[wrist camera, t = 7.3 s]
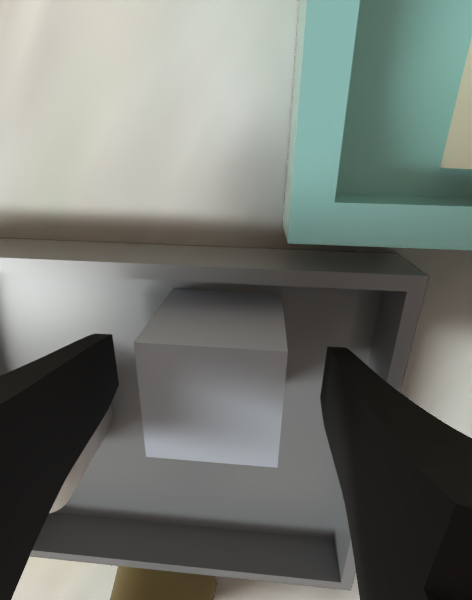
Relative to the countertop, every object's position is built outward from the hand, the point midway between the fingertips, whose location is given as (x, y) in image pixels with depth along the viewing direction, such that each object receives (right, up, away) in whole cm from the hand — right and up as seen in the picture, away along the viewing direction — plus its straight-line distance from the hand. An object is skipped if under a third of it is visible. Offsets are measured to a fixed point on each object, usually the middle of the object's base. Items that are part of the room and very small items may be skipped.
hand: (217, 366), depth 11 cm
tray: (-2, -3, +4) cm, 5 cm away
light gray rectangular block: (0, +1, +2) cm, 2 cm away
